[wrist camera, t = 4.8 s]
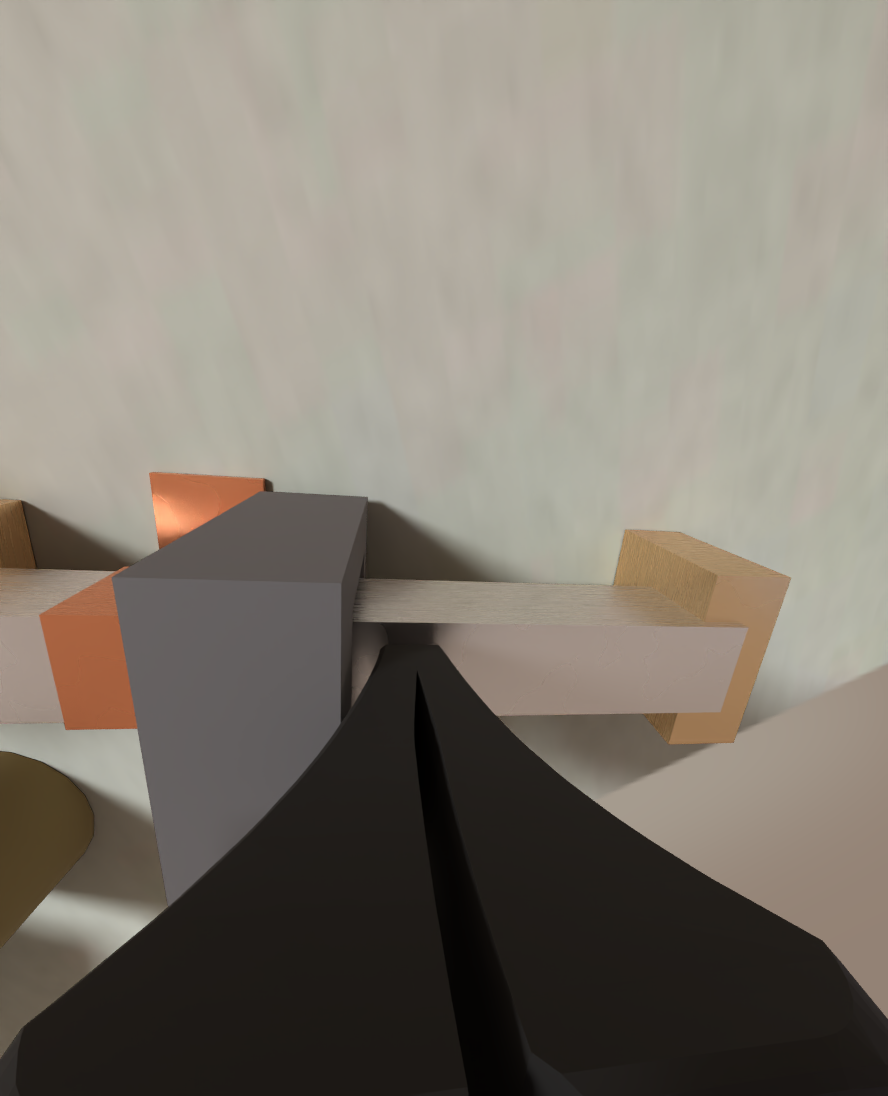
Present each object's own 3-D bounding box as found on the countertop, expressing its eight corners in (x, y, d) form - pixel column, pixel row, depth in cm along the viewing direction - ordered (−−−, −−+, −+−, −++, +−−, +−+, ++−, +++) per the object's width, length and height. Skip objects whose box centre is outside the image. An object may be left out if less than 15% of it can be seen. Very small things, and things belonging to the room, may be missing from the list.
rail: (687, 503, 14) (818, 543, 10) (641, 682, 16) (733, 781, 12) (-73, 458, 11) (-375, 487, 7) (-8, 685, 13) (-206, 819, 9)
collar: (367, 496, 12) (341, 583, 6) (363, 683, 14) (339, 897, 8) (260, 491, 12) (111, 577, 6) (270, 683, 14) (168, 909, 7)
